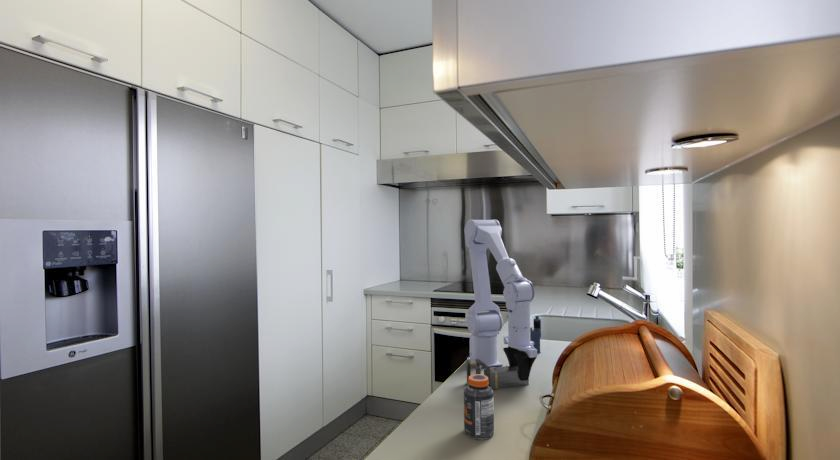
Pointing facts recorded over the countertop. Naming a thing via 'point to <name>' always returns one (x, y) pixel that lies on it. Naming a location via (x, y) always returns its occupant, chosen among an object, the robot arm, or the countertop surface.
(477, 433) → the pill bottle
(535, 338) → the vaping device
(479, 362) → the bracket
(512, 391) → the countertop surface
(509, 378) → the gray rectangular prism
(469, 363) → the dark grey rectangular frame
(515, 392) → the countertop surface
